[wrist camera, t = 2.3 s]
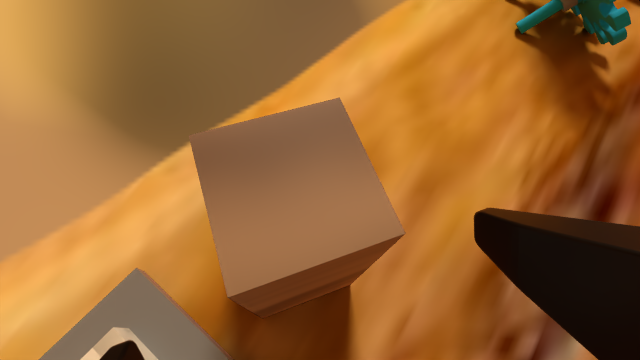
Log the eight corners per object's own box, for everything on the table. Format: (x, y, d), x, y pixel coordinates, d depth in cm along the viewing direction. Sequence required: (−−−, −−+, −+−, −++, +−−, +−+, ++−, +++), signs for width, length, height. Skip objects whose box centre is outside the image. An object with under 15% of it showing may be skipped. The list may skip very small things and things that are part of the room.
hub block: (350, 284, 18) (405, 233, 9) (262, 318, 17) (227, 297, 8) (319, 204, 20) (339, 97, 11) (238, 230, 19) (188, 135, 10)
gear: (643, 58, 26) (640, -47, 19) (557, 99, 29) (529, 21, 22) (571, -14, 32) (550, -113, 25) (507, 26, 35) (474, -52, 28)
